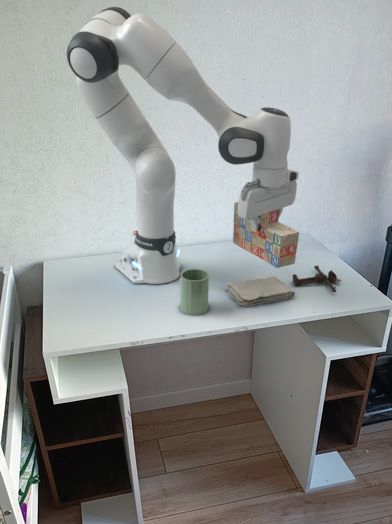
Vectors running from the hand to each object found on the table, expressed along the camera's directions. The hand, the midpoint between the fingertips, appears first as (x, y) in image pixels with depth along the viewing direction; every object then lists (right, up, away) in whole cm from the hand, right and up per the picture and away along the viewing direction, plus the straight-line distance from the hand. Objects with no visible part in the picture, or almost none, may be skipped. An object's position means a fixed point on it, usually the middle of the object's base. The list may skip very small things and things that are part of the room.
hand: (264, 227), depth 140 cm
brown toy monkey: (+19, -13, +18) cm, 29 cm away
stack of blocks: (0, -6, +4) cm, 8 cm away
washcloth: (0, -18, +12) cm, 21 cm away
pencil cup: (-20, -22, +5) cm, 30 cm away
